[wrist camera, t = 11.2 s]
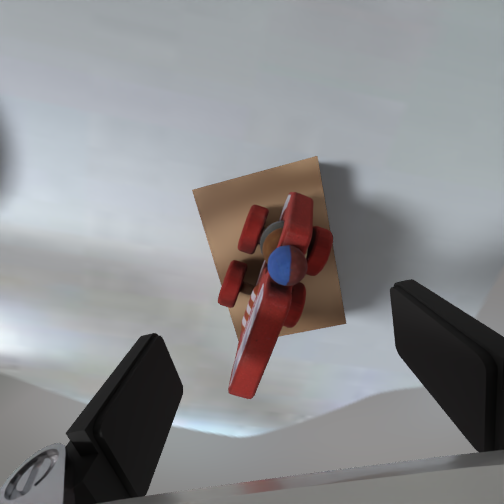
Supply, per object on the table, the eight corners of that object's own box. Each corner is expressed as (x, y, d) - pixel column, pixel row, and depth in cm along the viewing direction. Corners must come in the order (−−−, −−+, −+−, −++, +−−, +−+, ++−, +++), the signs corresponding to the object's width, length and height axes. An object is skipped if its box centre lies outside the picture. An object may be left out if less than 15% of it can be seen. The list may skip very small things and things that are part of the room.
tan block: (203, 189, 24) (192, 189, 20) (308, 161, 23) (317, 155, 19) (242, 322, 28) (239, 343, 24) (334, 304, 27) (346, 323, 23)
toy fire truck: (334, 208, 20) (404, 226, 10) (282, 325, 23) (295, 427, 13) (259, 180, 20) (255, 171, 10) (216, 303, 23) (180, 390, 13)
